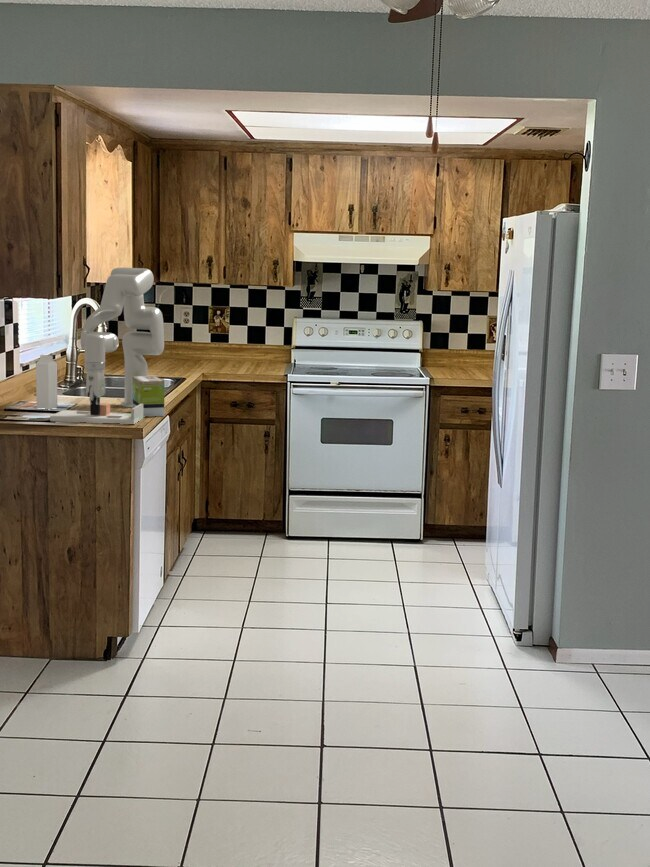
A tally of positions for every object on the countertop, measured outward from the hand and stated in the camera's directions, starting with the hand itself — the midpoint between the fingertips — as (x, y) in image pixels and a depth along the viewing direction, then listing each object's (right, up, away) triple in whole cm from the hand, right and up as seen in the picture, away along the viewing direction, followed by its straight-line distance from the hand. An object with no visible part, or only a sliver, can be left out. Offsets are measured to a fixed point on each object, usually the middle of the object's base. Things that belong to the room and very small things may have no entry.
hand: (95, 414), depth 363 cm
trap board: (0, -2, +4) cm, 4 cm away
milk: (-26, +3, +26) cm, 36 cm away
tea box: (+16, 0, +23) cm, 28 cm away
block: (+2, 0, +5) cm, 5 cm away
